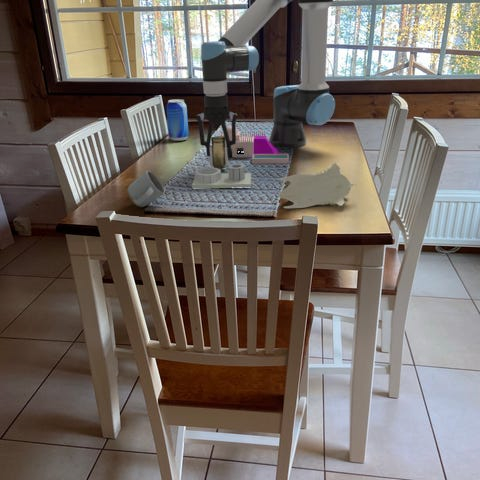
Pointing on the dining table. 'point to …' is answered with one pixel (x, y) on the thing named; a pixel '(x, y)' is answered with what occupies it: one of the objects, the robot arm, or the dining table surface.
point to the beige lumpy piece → (316, 188)
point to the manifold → (222, 177)
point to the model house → (255, 148)
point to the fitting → (218, 152)
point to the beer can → (177, 119)
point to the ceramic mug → (145, 189)
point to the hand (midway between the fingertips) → (219, 164)
